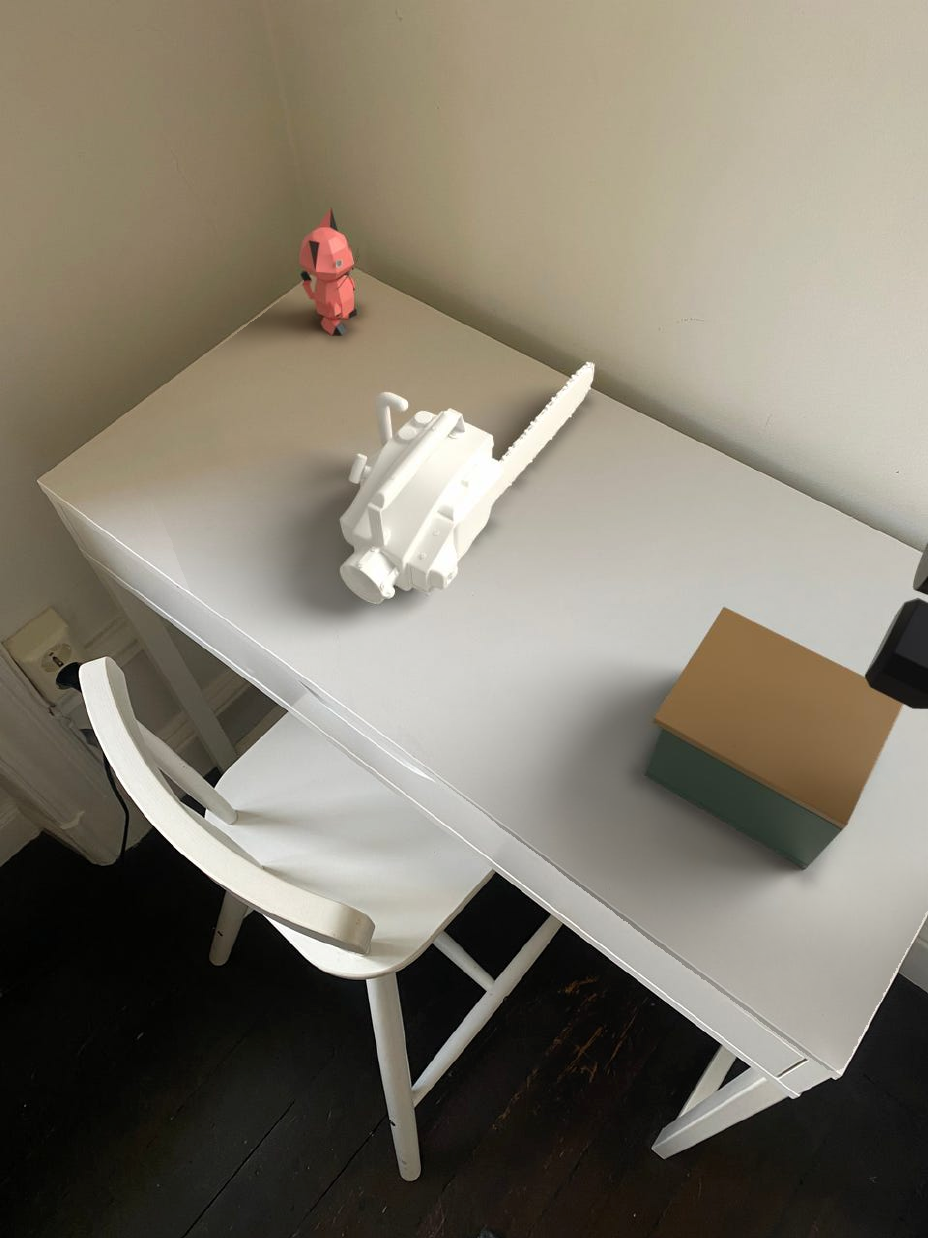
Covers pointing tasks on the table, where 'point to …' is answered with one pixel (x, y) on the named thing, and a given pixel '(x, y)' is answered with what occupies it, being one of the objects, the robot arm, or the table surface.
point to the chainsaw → (434, 492)
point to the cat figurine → (329, 274)
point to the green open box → (739, 800)
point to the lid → (781, 715)
